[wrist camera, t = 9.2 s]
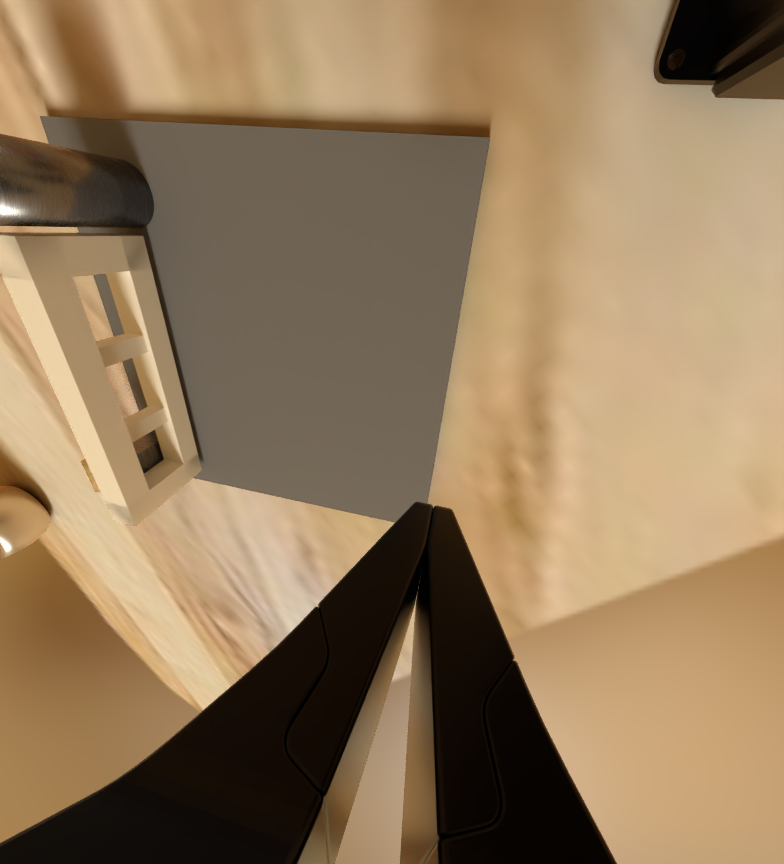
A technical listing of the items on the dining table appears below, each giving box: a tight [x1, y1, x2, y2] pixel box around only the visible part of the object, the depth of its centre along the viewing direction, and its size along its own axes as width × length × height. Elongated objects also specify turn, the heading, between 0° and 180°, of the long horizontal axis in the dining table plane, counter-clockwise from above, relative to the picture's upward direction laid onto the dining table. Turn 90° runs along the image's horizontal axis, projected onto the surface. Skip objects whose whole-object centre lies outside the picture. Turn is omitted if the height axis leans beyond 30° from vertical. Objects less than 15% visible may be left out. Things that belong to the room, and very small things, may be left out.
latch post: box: [81, 430, 164, 493], centre depth 24 cm, size 2×2×6 cm
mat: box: [40, 116, 490, 522], centre depth 21 cm, size 22×22×1 cm
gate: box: [0, 233, 202, 526], centre depth 20 cm, size 16×2×6 cm, turn 175°
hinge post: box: [0, 134, 154, 228], centre depth 15 cm, size 3×3×8 cm
